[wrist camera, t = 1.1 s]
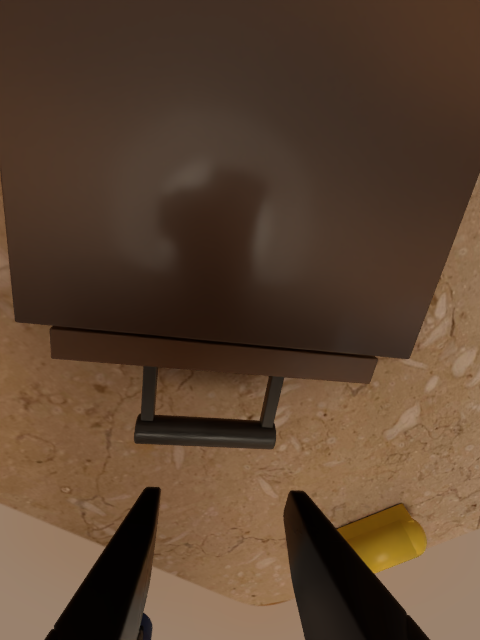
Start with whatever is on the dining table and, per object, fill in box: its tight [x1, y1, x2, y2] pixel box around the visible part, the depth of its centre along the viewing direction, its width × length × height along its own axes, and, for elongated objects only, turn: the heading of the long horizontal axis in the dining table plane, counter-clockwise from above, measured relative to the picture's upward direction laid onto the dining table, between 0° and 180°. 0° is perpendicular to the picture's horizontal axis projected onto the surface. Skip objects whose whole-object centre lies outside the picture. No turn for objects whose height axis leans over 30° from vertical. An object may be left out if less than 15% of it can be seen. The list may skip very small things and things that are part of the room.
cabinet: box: [0, 0, 480, 359], centre depth 12 cm, size 15×14×9 cm
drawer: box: [50, 326, 378, 449], centre depth 14 cm, size 19×12×7 cm, turn 171°
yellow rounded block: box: [337, 503, 427, 574], centre depth 27 cm, size 8×3×3 cm, turn 113°
